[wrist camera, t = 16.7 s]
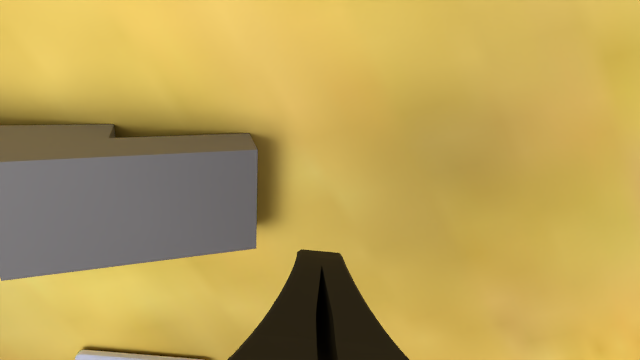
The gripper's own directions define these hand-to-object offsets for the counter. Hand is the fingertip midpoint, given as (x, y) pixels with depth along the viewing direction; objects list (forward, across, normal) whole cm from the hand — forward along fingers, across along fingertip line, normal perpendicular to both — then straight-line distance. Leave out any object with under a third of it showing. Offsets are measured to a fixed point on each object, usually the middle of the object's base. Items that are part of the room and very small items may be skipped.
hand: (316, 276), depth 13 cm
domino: (+6, +3, +1) cm, 7 cm away
